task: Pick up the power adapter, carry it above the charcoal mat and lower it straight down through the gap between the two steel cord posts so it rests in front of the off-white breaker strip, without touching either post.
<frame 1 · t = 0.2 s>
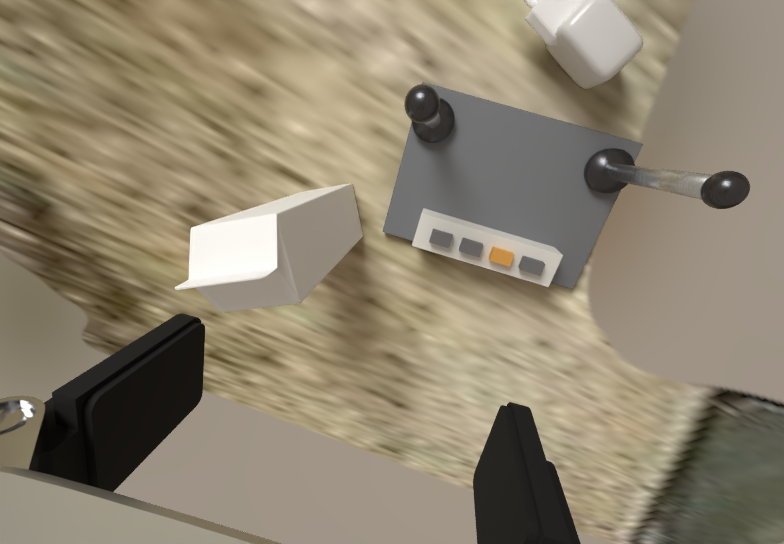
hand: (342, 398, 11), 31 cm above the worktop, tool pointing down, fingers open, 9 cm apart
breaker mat: (500, 190, 38), on the worktop
cord post 1: (433, 121, 36), point 1 cm above the worktop, touching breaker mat
cord post 2: (606, 170, 35), point 1 cm above the worktop, touching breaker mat
milk: (333, 213, 41), on the worktop
power adapter: (559, 31, 33), on the worktop
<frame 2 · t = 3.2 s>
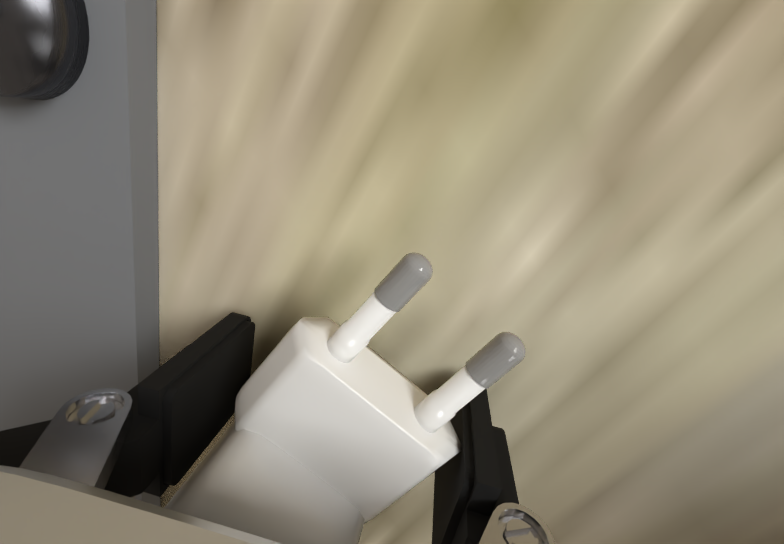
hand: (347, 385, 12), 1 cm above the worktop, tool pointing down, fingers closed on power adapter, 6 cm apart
cord post 1: (15, 12, 9), point 1 cm above the worktop, touching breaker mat
power adapter: (351, 369, 13), on the worktop, touching gripper
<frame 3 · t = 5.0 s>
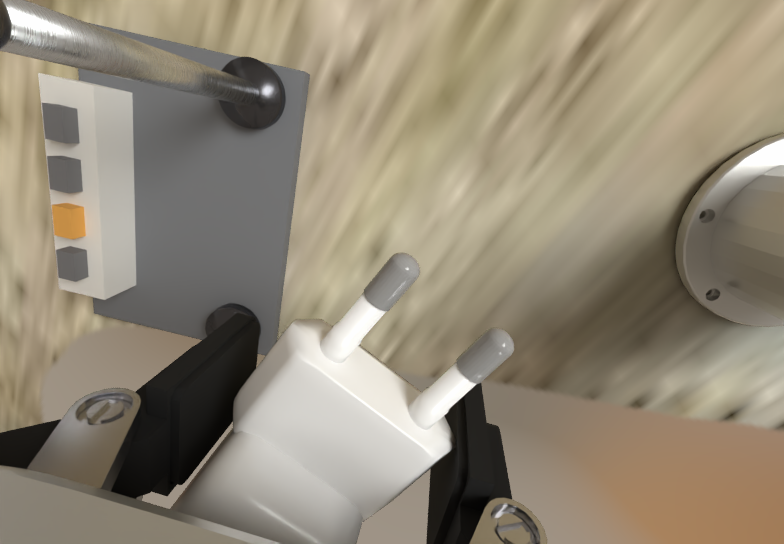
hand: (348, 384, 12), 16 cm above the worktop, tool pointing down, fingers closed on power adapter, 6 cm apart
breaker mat: (193, 207, 28), on the worktop
cord post 1: (255, 95, 24), point 1 cm above the worktop, touching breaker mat
cord post 2: (236, 326, 29), point 1 cm above the worktop, touching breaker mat
power adapter: (349, 370, 13), point 15 cm above the worktop, touching gripper
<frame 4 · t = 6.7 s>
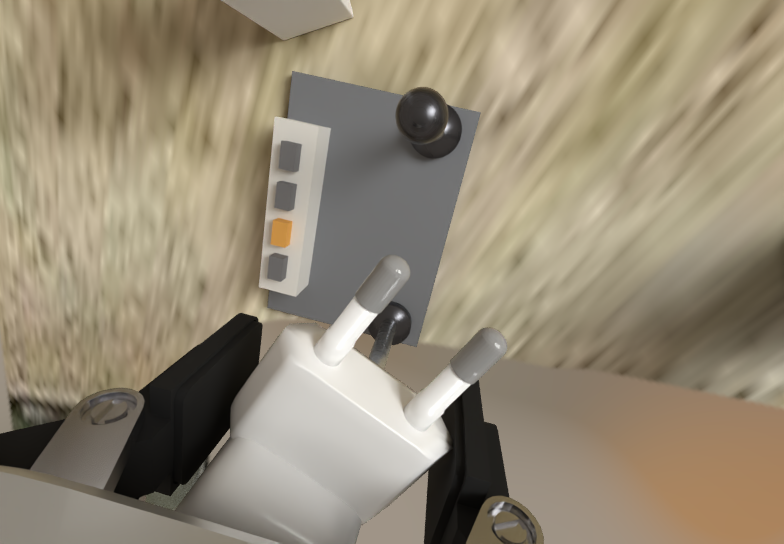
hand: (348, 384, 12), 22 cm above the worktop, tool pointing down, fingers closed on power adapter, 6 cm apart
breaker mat: (363, 220, 33), on the worktop
cord post 1: (435, 131, 29), point 1 cm above the worktop, touching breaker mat
cord post 2: (390, 320, 35), point 1 cm above the worktop, touching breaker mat
power adapter: (348, 373, 13), point 21 cm above the worktop, touching gripper
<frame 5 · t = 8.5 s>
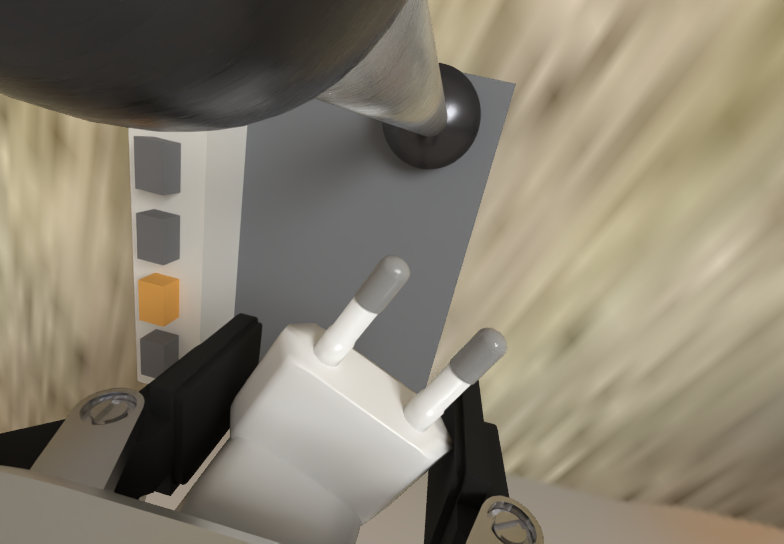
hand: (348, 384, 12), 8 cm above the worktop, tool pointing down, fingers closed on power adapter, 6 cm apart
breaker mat: (313, 268, 20), on the worktop
cord post 1: (431, 119, 16), point 1 cm above the worktop, touching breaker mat
power adapter: (347, 374, 13), point 8 cm above the worktop, touching gripper
when the fingers open (3 cm above the worktop, at t = 10.0 s): power adapter drops 1 cm, resting on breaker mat.
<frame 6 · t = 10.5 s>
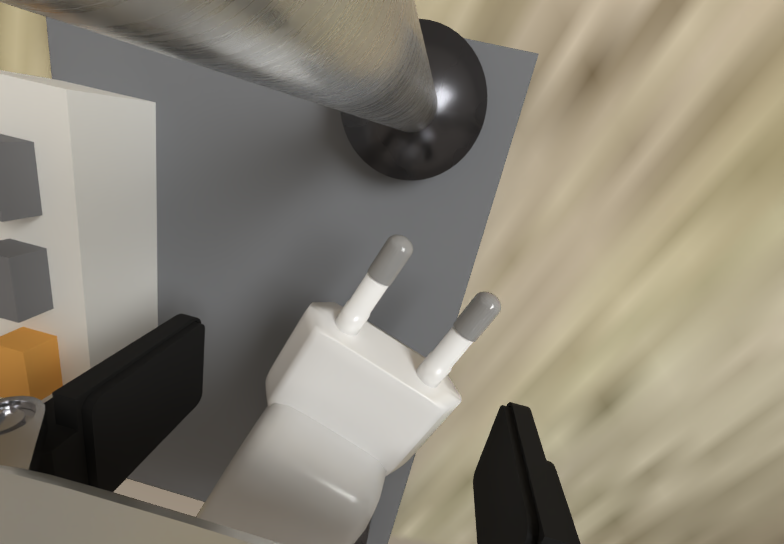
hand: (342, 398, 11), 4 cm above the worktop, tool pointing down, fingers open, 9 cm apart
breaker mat: (261, 309, 15), on the worktop
cord post 1: (414, 108, 11), point 1 cm above the worktop, touching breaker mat
power adapter: (364, 353, 14), point 1 cm above the worktop, touching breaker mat
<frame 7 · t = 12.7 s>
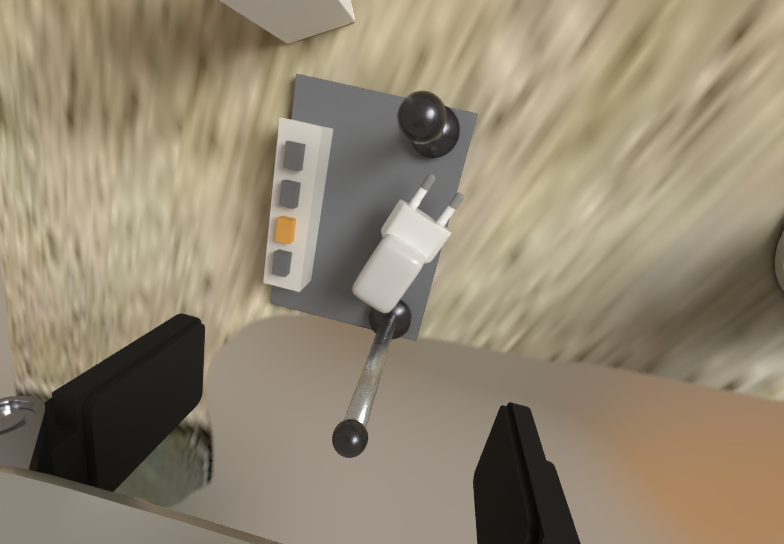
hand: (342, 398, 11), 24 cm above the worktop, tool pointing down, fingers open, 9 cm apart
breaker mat: (364, 218, 34), on the worktop
cord post 1: (434, 131, 30), point 1 cm above the worktop, touching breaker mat
cord post 2: (390, 315, 36), point 1 cm above the worktop, touching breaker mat
power adapter: (411, 234, 33), point 1 cm above the worktop, touching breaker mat
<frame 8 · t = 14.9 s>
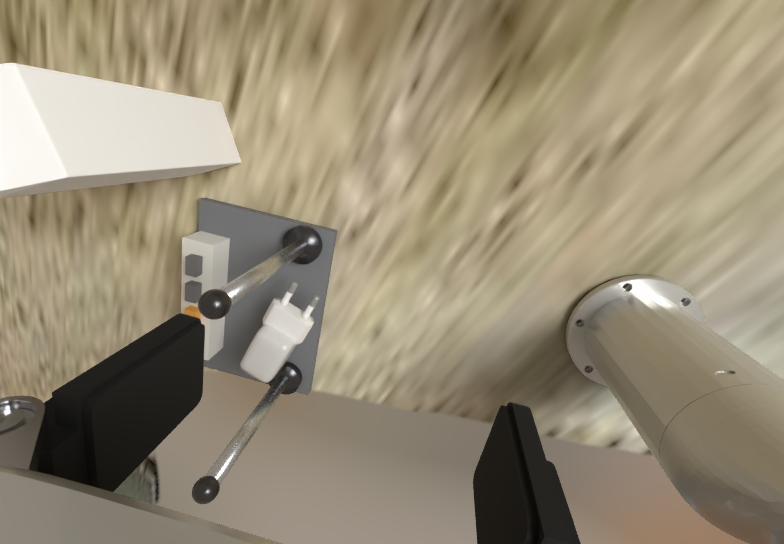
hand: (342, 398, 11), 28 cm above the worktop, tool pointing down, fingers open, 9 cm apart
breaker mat: (261, 300, 43), on the worktop
cord post 1: (304, 243, 39), point 1 cm above the worktop, touching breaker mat
cord post 2: (286, 375, 45), point 1 cm above the worktop, touching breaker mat
milk: (208, 140, 38), on the worktop
power adapter: (295, 315, 42), point 1 cm above the worktop, touching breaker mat
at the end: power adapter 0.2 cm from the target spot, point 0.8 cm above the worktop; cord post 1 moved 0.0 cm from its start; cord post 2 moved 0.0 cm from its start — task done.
